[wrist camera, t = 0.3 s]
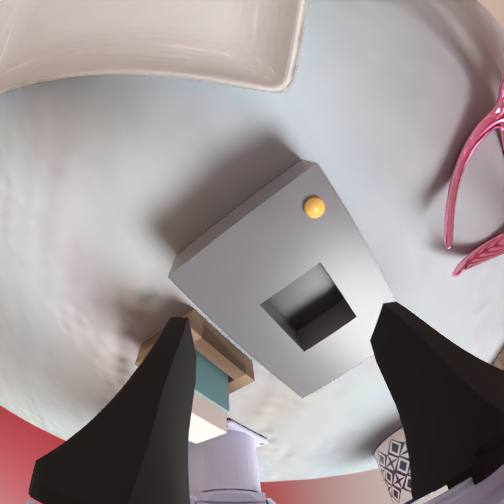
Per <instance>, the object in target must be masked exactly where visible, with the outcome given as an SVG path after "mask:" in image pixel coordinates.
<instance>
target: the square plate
mask: <svg viewBox="0 0 504 504" xmlns="http://www.w3.org/2000/svg"><path fill="white" fill-rule="evenodd" d="M308 1H309V0H0V94H3V93H6V92H9V91H12V90H15V89H18V88H22V87H25V86H29V85H33V84H37V83H42V82H46V81H51V80H56V79H62V78H69V77H77V76H89V75H103V74H130V75H152V76H165V77H175V78H184V79H191V80H198V81H205V82H211V83H217V84H223V85H229V86H234V87H240V88H245V89H250V90H256V91H264V92H272V93H282V92H285V91H287V90H288V89H289V88H290V87H291V86H292V84H293V82H294V78H295V75H296V71H297V66H298V61H299V56H300V51H301V45H302V40H303V33H304V27H305V21H306V14H307V8H308Z"/></svg>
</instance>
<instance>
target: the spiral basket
mask: <svg viewBox="0 0 504 504" xmlns="http://www.w3.org/2000/svg"><path fill="white" fill-rule="evenodd" d="M497 128H498V129H499V130H500V132H501V137H502V143H503V149H504V74H503V76H502V79H501V82H500V87H499V94H498V99H497V102H496V105H495V106H494V107H493V109H492V110H491V111H490V112H489V113H488V114H487V115H486V116H485V117H484V118H483V119H482V120H481V121H480V122H479V123H478V124H477V126H476V127H475V128H474V130H473V131H472V132H471V134H470V135H469V137H468V139H467V140H466V142H465V144H464V146H463V148H462V150H461V152H460V154H459V156H458V159H457V161H456V164H455V167H454V170H453V173H452V177H451V181H450V185H449V189H448V194H447V200H446V207H445V217H444V243H445V246H446V248H448V249H449V248H450V247H451V245H452V241H453V230H454V215H455V206H456V200H457V195H458V190H459V186H460V183H461V179H462V176H463V174H464V171H465V168H466V166H467V164H468V162H469V160H470V158H471V156H472V155H473V153H474V151H475V150H476V148H477V147H478V146H479V144H480V143H481V142H482V141H483V139H484V138H485V137H486V136H487V135H488V134H489V133H490V132H492V131H493V130H494V129H497ZM501 254H504V233H502V234H500V235H498V236H496V237H494V238H492V239H490V240H489V241H487V242H485V243H484V244H482V245H480V246H479V247H477V248H476V249H475V250H473V251H472V252H471V253H469V254H468V255H467V256H466V257H465V258H464V259H463V260H462V261H461V262H460V263H459V264H458V265H457V266H456V267H455V269H454V270H453V272H452V276H453V277H457V276H459V275H461V274H462V273H464V272H465V271H467V270H469V269H471V268H472V267H474V266H476V265H479V264H481V263H483V262H485V261H487V260H490V259H492V258H494V257H497V256H499V255H501Z"/></svg>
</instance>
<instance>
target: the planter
mask: <svg viewBox="0 0 504 504" xmlns="http://www.w3.org/2000/svg"><path fill="white" fill-rule="evenodd" d="M374 456H375V459H376V461H377V464H378V466H379V469H380V471H381V474H382V476H383V479H384V481H385V484H386V486H387V489H388V492H389V494H390V497H391V499H392V502H393V504H412V503H414V502H416V501H418V500H420V499H422V498H424V497H426V496H427V495H426V496H423V497H421V498H419V499H417V500H413V498H412V495H411V474H410V463H409V456H408V449H407V444H406V439H405V434H404V430H403V427H402V428H400V429H399V430H397V431H396V432H394V433H393V434H392V435H390V436H389V437H388V438H387V439H386V440H384V441H383V442H382V443H381V444H380V446H379V447H378V448H377V449H376V451H375V453H374ZM432 493H433V492H432ZM430 494H431V493H430ZM428 495H429V494H428Z"/></svg>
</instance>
